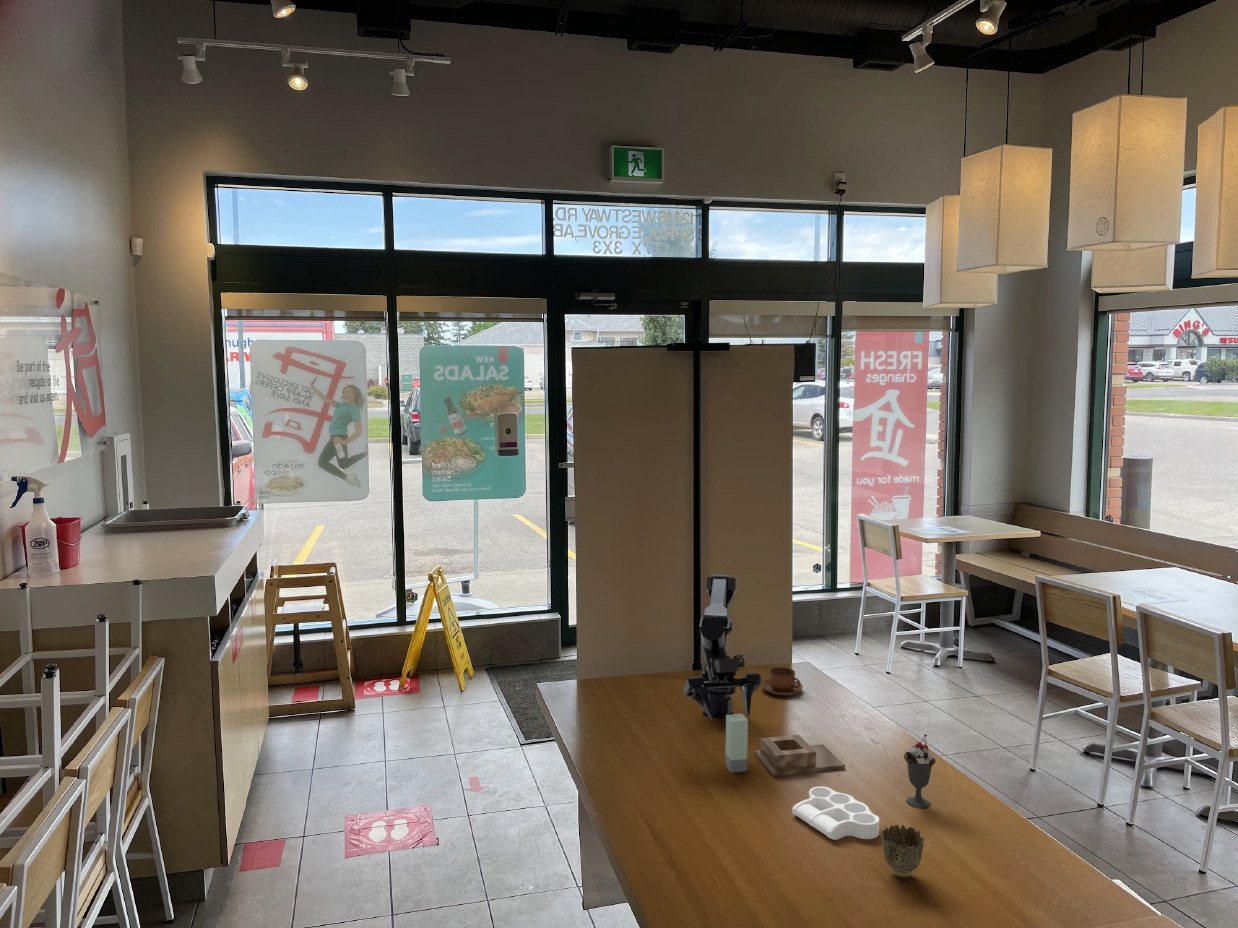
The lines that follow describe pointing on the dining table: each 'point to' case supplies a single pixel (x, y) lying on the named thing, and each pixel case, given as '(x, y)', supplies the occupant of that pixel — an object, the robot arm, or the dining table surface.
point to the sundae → (919, 772)
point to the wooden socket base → (795, 756)
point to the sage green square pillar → (736, 742)
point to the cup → (902, 850)
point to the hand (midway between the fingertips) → (730, 716)
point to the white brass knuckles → (837, 814)
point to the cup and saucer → (782, 682)
